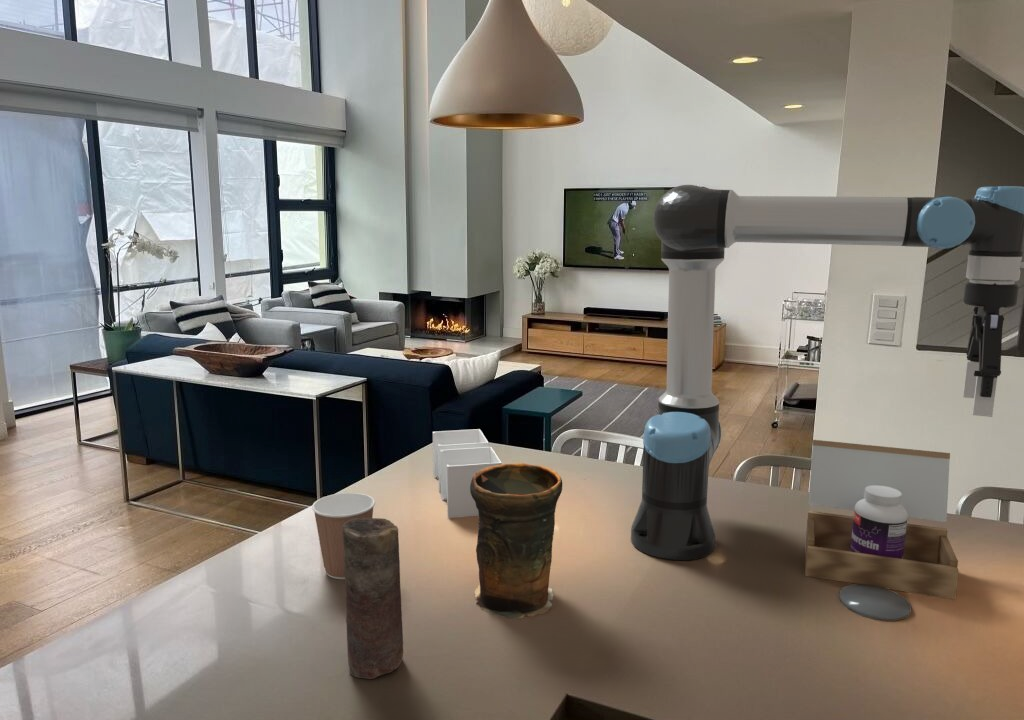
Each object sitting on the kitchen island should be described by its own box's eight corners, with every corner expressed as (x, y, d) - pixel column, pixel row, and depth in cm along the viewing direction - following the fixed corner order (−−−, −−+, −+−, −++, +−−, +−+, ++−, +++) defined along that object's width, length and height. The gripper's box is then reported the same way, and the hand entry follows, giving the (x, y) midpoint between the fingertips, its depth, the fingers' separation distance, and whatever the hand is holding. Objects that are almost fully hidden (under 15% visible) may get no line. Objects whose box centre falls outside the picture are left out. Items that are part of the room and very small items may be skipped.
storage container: (501, 514, 152) (501, 462, 150) (448, 519, 150) (447, 466, 148) (480, 474, 176) (479, 429, 174) (433, 477, 174) (432, 431, 171)
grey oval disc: (840, 612, 114) (841, 609, 114) (838, 583, 123) (838, 580, 123) (914, 625, 110) (915, 621, 110) (906, 594, 119) (906, 590, 119)
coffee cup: (389, 563, 130) (387, 498, 128) (352, 589, 121) (350, 519, 118) (341, 552, 134) (338, 488, 132) (302, 576, 125) (298, 509, 123)
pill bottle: (838, 564, 130) (845, 485, 127) (875, 557, 132) (883, 480, 130) (873, 585, 122) (882, 502, 120) (912, 578, 125) (921, 496, 122)
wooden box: (805, 575, 126) (808, 536, 124) (805, 546, 137) (808, 510, 135) (954, 599, 118) (960, 557, 117) (941, 566, 129) (946, 528, 128)
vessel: (572, 581, 123) (573, 466, 119) (547, 627, 110) (547, 499, 106) (490, 568, 128) (488, 457, 124) (457, 611, 115) (454, 488, 111)
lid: (813, 439, 137) (812, 439, 138) (808, 504, 136) (808, 504, 136) (950, 453, 129) (949, 453, 130) (946, 522, 128) (945, 521, 129)
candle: (352, 649, 104) (346, 513, 100) (405, 647, 105) (401, 512, 101) (344, 683, 96) (338, 537, 93) (401, 680, 97) (397, 535, 93)
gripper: (1034, 289, 111) (1015, 426, 115) (1006, 277, 133) (991, 393, 137) (975, 287, 114) (959, 421, 118) (957, 275, 137) (944, 389, 141)
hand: (976, 406), depth 128 cm, fingers open, 13 cm apart
